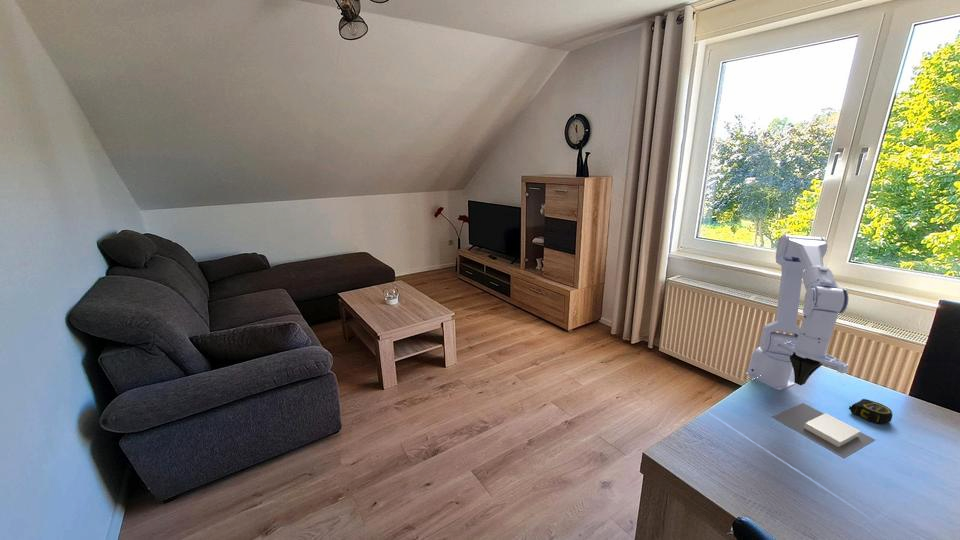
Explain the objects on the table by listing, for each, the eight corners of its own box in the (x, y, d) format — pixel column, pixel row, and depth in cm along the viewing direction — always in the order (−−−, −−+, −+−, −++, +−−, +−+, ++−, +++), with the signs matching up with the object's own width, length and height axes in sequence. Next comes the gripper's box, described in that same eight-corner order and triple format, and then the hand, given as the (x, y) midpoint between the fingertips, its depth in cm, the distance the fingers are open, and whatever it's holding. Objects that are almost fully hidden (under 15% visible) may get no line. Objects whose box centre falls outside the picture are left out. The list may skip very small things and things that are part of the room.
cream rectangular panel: (805, 422, 92) (840, 442, 86) (825, 413, 96) (860, 431, 90) (803, 428, 93) (838, 448, 87) (823, 418, 96) (858, 436, 90)
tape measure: (860, 407, 102) (864, 395, 101) (894, 423, 96) (899, 410, 95) (846, 413, 99) (850, 401, 98) (881, 430, 93) (886, 417, 92)
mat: (771, 418, 97) (771, 416, 97) (802, 404, 103) (803, 402, 102) (843, 459, 84) (844, 458, 84) (875, 441, 90) (875, 439, 89)
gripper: (771, 325, 95) (759, 371, 99) (843, 352, 82) (826, 404, 86) (788, 320, 97) (775, 365, 102) (860, 345, 85) (842, 396, 89)
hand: (799, 383), depth 94 cm, fingers closed
